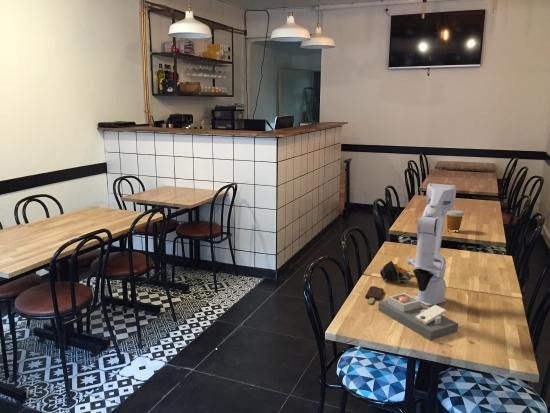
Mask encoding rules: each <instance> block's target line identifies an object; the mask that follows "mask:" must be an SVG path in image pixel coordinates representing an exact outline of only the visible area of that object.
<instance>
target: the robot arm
mask: <svg viewBox="0 0 550 413" xmlns="http://www.w3.org/2000/svg"><path fill="white" fill-rule="evenodd" d="M456 194H457V186H456V185H455V184H453V185H452V184H441V183H432V182H429V183H428V184H427V188H426V194H425V195H426V203H427V205H426V206H425V207H424V210H423V212H422V214H421V217H418V219H417V223H416V233H417V234H416V239H417V243H416V245H417V246H416V255H415V256H416V257H415V258H412V257H408V258H406V265H410V266H413V268H415V269H413V270H412V272H413V274H415V276H416V277H415V279H416V282H417V287H418V288H417V295H414V296H413V297H414V298H416V299H418V300H420V304H422V305H424V306H426V307H431V306H434V305H437V304H441V303H445V302H446V301H447V300H446V299H445V296H446V295H445V294H446V286H447V284H446V280H445V279H444V278H445V274H446V264H447V260H446V257H444V256H443V255H442V254H441V252H440V251H441V245H442V238H443V234H444V233H443V232H444V227H445V221H446V217H447V211H448V210H454V209H453V208H454V205H455V203H456V202H455V200H456V196H457V195H456Z"/></svg>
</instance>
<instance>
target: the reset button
mask: <svg viewBox="0 0 550 413" xmlns="http://www.w3.org/2000/svg"><path fill="white" fill-rule="evenodd" d="M399 301H400V302H402V303H404V304H405V303H409V301H410V299H409V298H408V297H404V296H401V297H399Z"/></svg>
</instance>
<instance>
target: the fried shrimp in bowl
mask: <svg viewBox="0 0 550 413" xmlns="http://www.w3.org/2000/svg"><path fill="white" fill-rule="evenodd" d="M408 272H409V273H408ZM410 272H411V270H410V269H409V270H407V269H404V267H403V268H402V267H400V266H398V264H397V263H395V262H393V261H392V260H389V261H388V262H387V263H386V264H384V265H383V267H382V268H381V269H380V272H379V274H380V276H381V279H382V281H385V280H386V281H387V282H398V283H400V284H406V283H407V282H408V281H411V279H412V278H416V276H415V274H414V273H410Z"/></svg>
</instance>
